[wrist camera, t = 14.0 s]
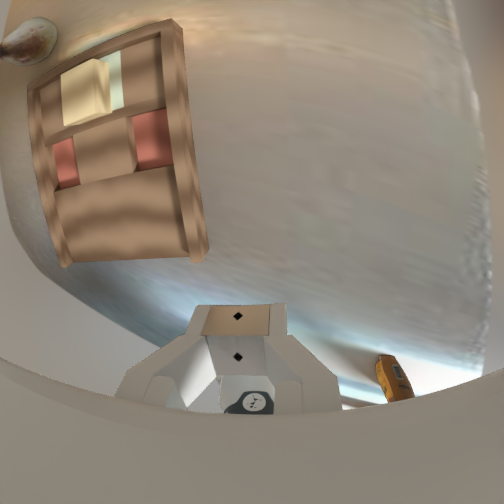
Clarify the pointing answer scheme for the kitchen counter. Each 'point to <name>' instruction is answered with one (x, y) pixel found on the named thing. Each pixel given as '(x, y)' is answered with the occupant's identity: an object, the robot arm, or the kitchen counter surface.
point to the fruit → (29, 42)
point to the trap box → (122, 156)
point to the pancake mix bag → (393, 379)
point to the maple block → (86, 92)
